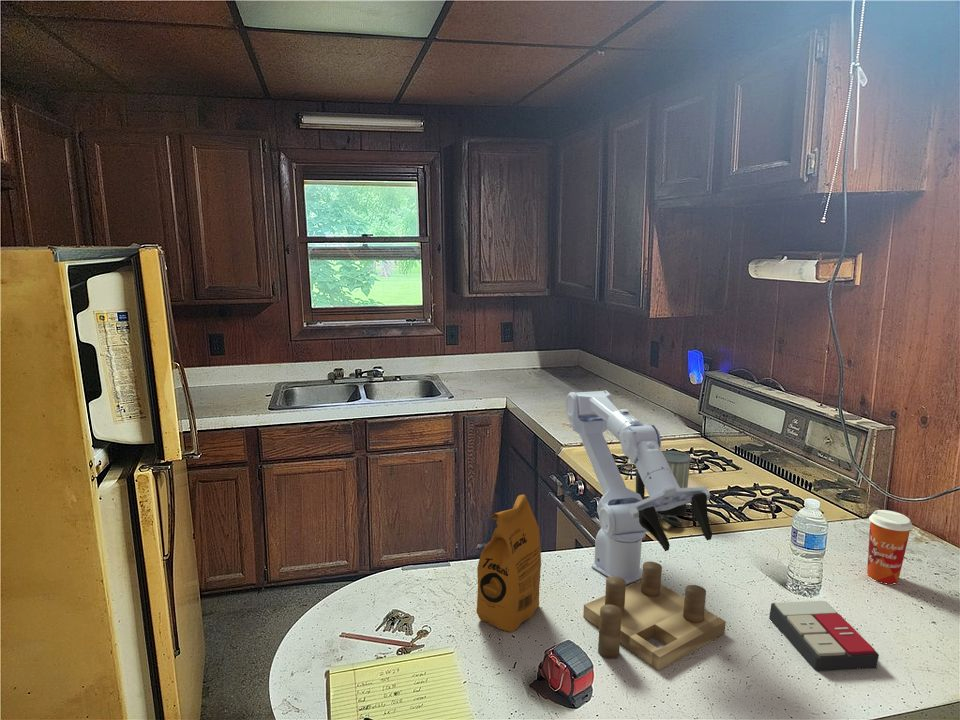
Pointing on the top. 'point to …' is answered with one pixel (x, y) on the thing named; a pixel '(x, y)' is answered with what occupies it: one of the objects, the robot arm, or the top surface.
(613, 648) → the loose leg
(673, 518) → the milk frother
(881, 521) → the paper cup
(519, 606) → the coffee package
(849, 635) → the calculator
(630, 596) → the wooden peg board
